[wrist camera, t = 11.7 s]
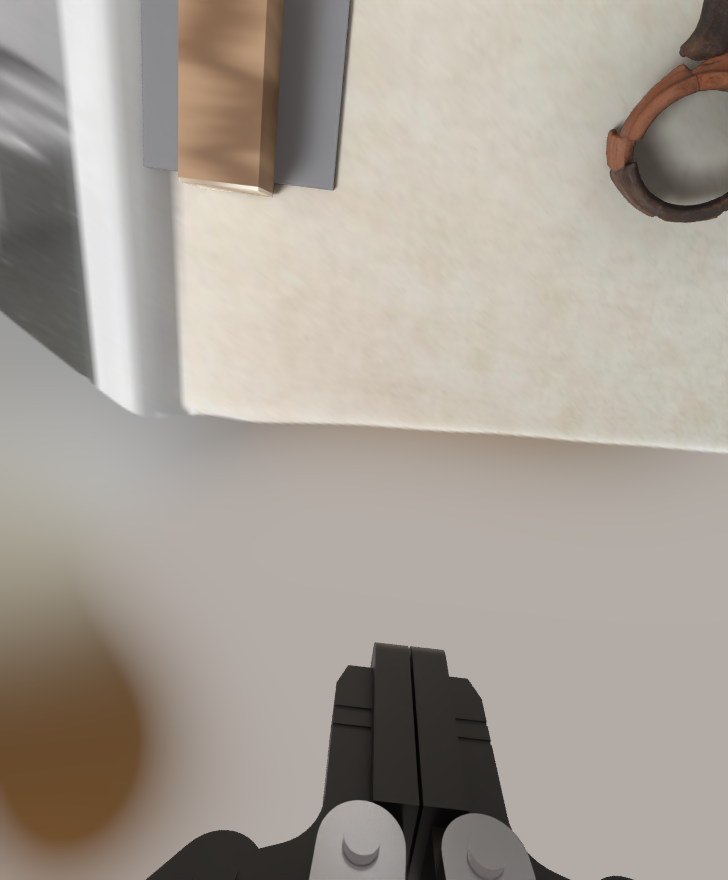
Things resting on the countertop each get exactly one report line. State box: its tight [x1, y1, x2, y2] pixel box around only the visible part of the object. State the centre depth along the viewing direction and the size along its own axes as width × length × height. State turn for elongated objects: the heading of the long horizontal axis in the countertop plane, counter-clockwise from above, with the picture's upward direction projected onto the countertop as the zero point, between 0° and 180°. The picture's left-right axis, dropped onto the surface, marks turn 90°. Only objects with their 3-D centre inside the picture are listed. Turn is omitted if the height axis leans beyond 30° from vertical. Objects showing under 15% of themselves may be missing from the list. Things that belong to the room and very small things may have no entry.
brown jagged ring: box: [606, 0, 728, 223], centre depth 31 cm, size 12×10×8 cm
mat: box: [141, 0, 350, 190], centre depth 33 cm, size 12×13×1 cm
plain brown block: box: [178, 0, 284, 197], centre depth 31 cm, size 4×4×12 cm
